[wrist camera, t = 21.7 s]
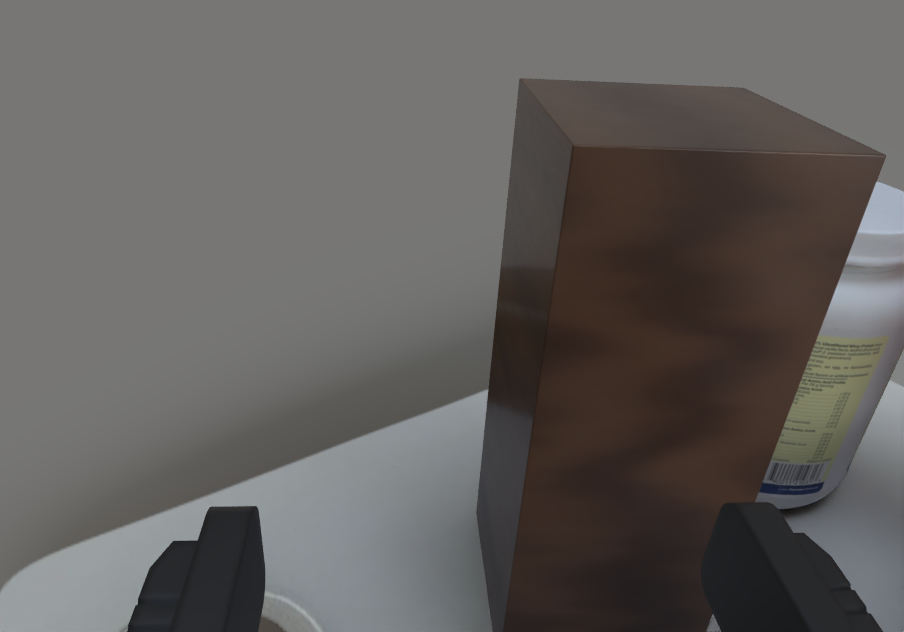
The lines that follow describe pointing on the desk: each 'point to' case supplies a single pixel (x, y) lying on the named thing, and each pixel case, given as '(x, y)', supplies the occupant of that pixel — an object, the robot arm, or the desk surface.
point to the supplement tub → (845, 362)
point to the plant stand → (649, 338)
